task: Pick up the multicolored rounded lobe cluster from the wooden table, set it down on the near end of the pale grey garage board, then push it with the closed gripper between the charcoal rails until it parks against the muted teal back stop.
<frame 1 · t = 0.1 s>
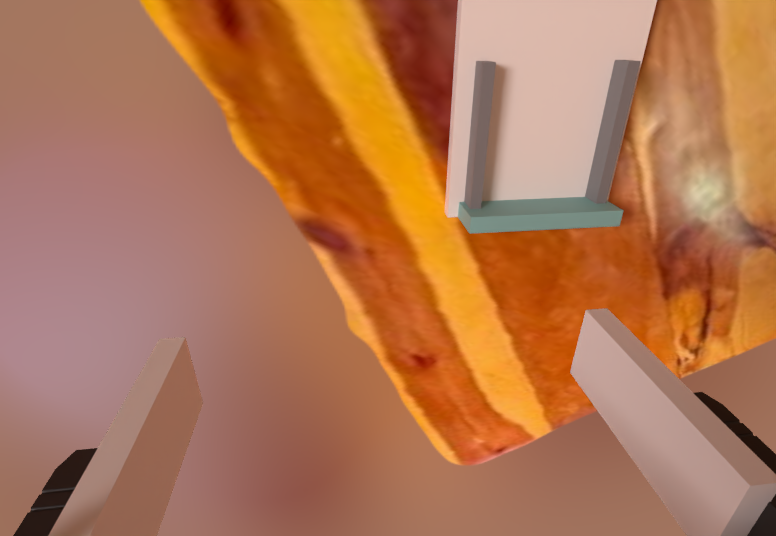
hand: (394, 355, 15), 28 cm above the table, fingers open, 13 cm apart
garage board: (542, 85, 38), on the table
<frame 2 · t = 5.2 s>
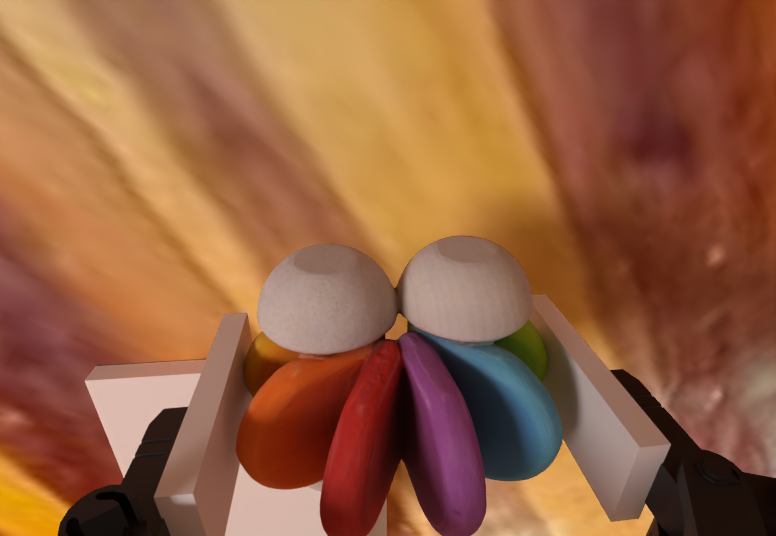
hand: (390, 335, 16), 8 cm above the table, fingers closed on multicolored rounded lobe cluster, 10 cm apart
garage board: (269, 491, 30), on the table
multicolored rounded lobe cluster: (388, 328, 16), point 7 cm above the table, touching gripper
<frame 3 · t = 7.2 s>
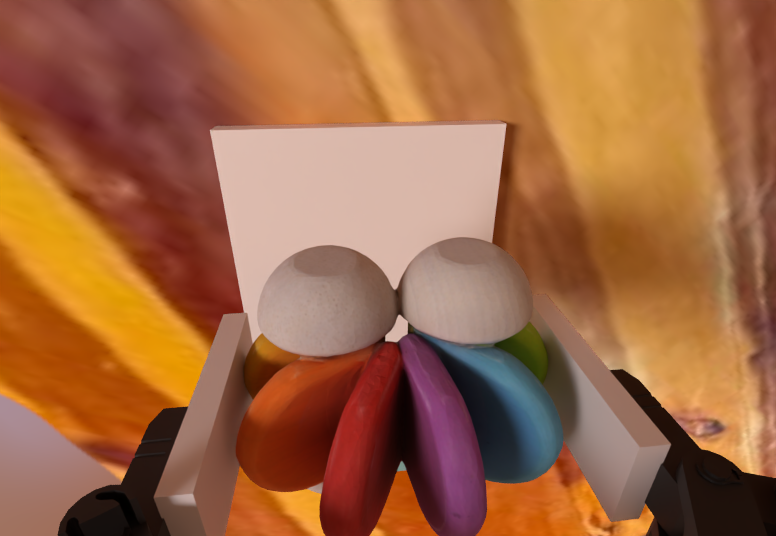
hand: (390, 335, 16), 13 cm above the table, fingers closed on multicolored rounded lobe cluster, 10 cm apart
garage board: (366, 296, 30), on the table
multicolored rounded lobe cluster: (389, 329, 16), point 13 cm above the table, touching gripper
when the fingers open (2 cm above the table, at t = 9.5 s): multicolored rounded lobe cluster stays where it is, resting on garage board.
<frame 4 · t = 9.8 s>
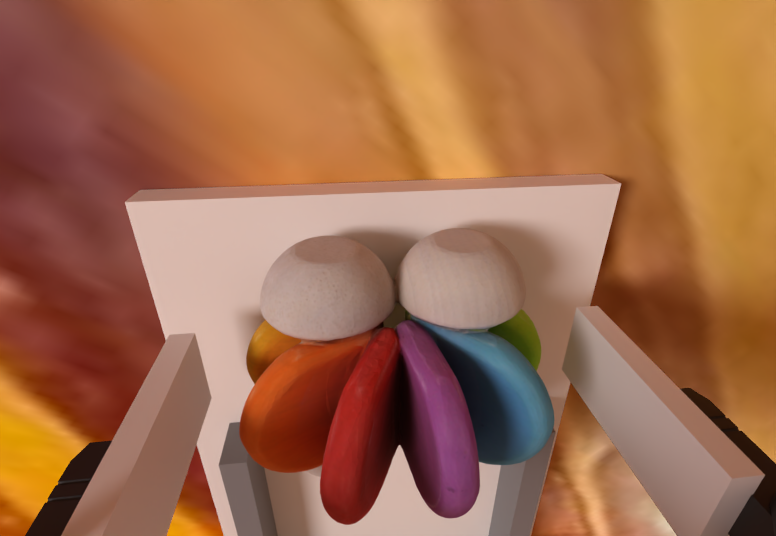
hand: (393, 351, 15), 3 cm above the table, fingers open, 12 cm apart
garage board: (384, 420, 20), on the table
multicolored rounded lobe cluster: (387, 320, 17), point 1 cm above the table, touching garage board
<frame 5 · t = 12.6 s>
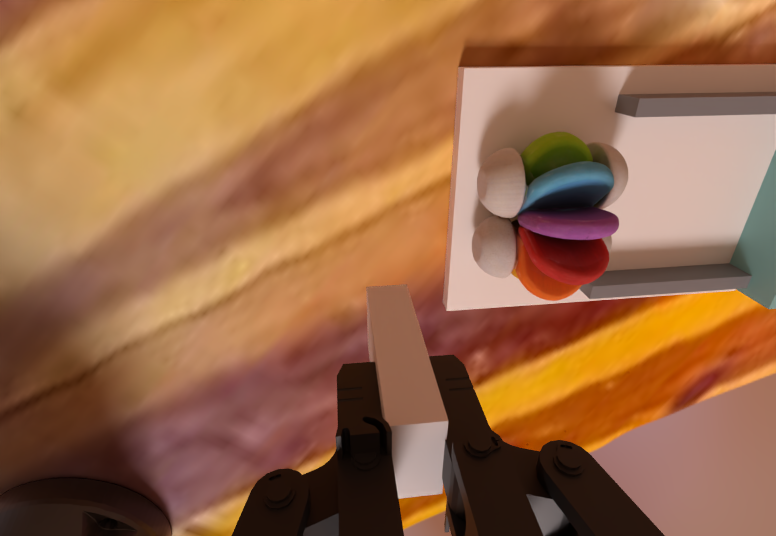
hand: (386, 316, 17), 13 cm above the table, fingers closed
garage board: (612, 192, 30), on the table
multicolored rounded lobe cluster: (530, 201, 29), point 1 cm above the table, touching garage board
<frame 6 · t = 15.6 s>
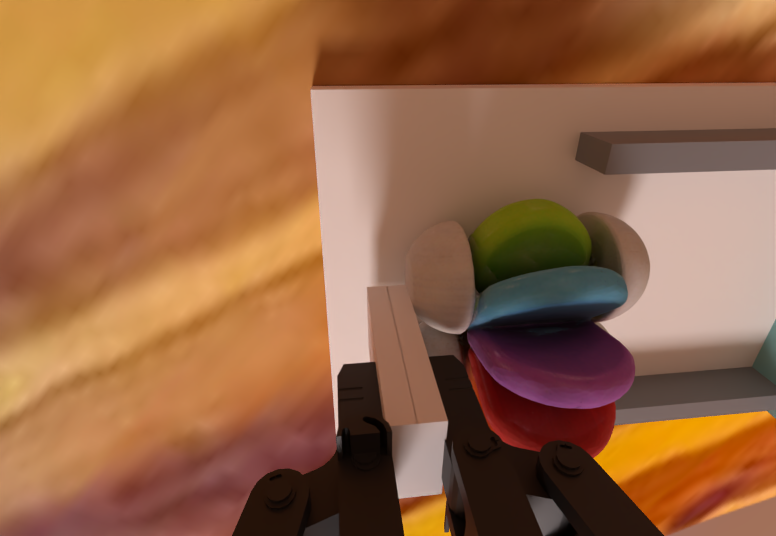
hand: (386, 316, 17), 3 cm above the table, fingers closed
garage board: (579, 272, 20), on the table
multicolored rounded lobe cluster: (496, 289, 19), point 1 cm above the table, touching garage board, gripper
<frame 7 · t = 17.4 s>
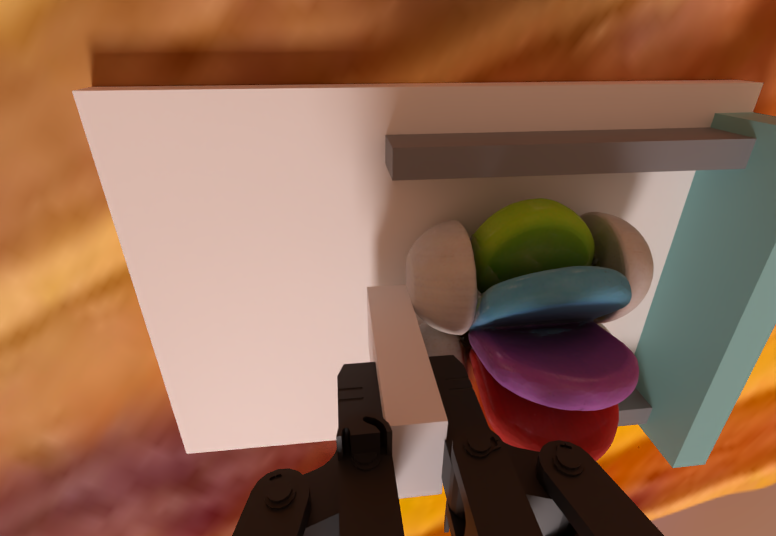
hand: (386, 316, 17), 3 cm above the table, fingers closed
garage board: (428, 280, 19), on the table
multicolored rounded lobe cluster: (497, 290, 19), point 1 cm above the table, touching garage board
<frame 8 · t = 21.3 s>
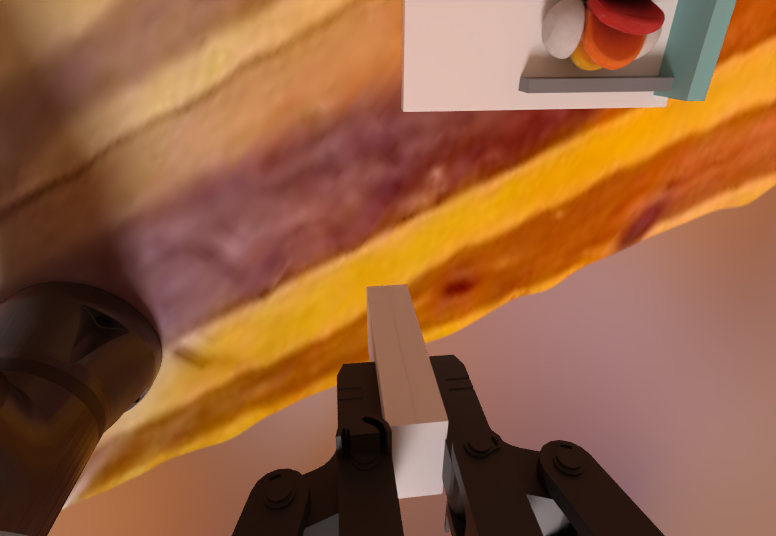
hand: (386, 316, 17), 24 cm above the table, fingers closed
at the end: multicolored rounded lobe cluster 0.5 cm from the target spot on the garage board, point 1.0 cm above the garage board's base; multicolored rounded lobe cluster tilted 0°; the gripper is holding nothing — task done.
